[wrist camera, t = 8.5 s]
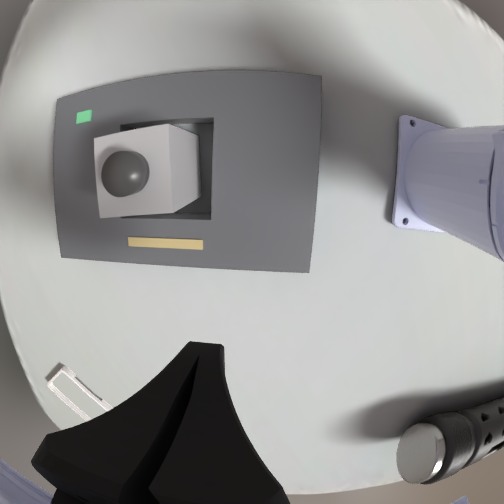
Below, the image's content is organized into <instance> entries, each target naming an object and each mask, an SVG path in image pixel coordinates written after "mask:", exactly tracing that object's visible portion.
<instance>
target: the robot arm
mask: <svg viewBox="0 0 504 504" xmlns="http://www.w3.org/2000/svg"><path fill="white" fill-rule="evenodd" d="M410 120H411V121H412V122H413V127H412V126H411V125H410ZM404 218H406V222H405V223H404V224H403V219H404ZM392 223H393V225H394V226H396V227H398V228H407V229H417V230H426V231H435V232H443V233H449V234H451V235H453V236H455V237H457V238H459V239H461V240H463V241H465V242H467V243H469V244H471V245H473V246H475V247H477V248H479V249H481V250H483V251H485V252H487V253H489V254H490V255H492V256H494V257H496V258H498V259H500V260H501V261H503V262H504V126H480V127H466V128H454V129H448V128H446V127H443V126H440V125H437V124H434V123H431V122H428V121H425V120H422V119H419V118H415V117H412V116H408V115H402V116H400V118H399V139H398V162H397V176H396V187H395V197H394V206H393V214H392ZM31 463H32V465H33V467H34V468H35V469H36V470H37V471H38V472H39V473H40V474H41V475H42V476H43V477H44V478H45V479H46V480H48V481H49V482H50V483H51V484H52V485H53V486H55V487H56V488H57V490H56V492H55V494H54V495H52V494H50V493H49V492H47V491H45V490H44V489H42V488H40V487H39V486H37V485H36V484H34V483H33V482H31V481H30V480H28V479H27V478H25V477H24V476H23V475H21V474H20V473H18V472H17V471H16V470H15V469H13V468H12V467H11V466H9V465H8V464H7V463H5V462H4V461H3V460H2V459H0V504H290V502H289V500H288V498H287V496H286V494H285V492H284V490H283V487H282V486H281V484H280V483H279V482H278V481H277V480H276V478H275V477H274V476H273V475H272V473H271V472H270V471H269V469H268V468H267V467H266V465H265V464H264V462H263V461H262V460H261V458H260V457H259V455H258V454H257V452H256V450H255V449H254V447H253V445H252V443H251V442H250V440H249V438H248V436H247V435H246V433H245V431H244V429H243V427H242V425H241V423H240V420H239V418H238V416H237V413H236V411H235V408H234V406H233V403H232V400H231V397H230V394H229V390H228V386H227V382H226V378H225V362H224V346H223V345H222V344H212V343H202V342H192V341H190V342H188V343H187V344H186V345H185V347H184V348H183V349H182V350H181V351H180V352H179V353H178V354H177V356H176V357H175V358H174V359H173V360H172V361H171V362H170V363H169V364H168V365H167V366H166V367H165V368H164V369H163V370H162V371H161V372H160V373H159V374H158V375H157V376H156V377H155V378H153V379H152V380H151V381H150V382H149V383H148V384H147V385H145V386H144V387H143V388H142V389H141V390H139V391H138V392H137V393H135V394H134V395H133V396H131V397H130V398H128V399H127V400H126V401H124V402H123V403H121V404H119V405H118V406H116V407H114V408H113V409H111V410H109V411H108V412H106V413H104V414H102V415H100V416H98V417H96V418H94V419H91V420H89V421H87V422H85V423H82V424H80V425H77V426H74V427H71V428H68V429H65V430H61V431H58V432H54V433H51V434H47V435H46V437H45V438H44V440H43V441H42V443H41V445H40V446H39V448H38V450H37V451H36V453H35V455H34V457H33V458H32V460H31ZM450 504H469V502H468V500H467V497H466V496H463V497H461V498H460V499H458V500H456V501H454V502H452V503H450Z"/></svg>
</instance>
